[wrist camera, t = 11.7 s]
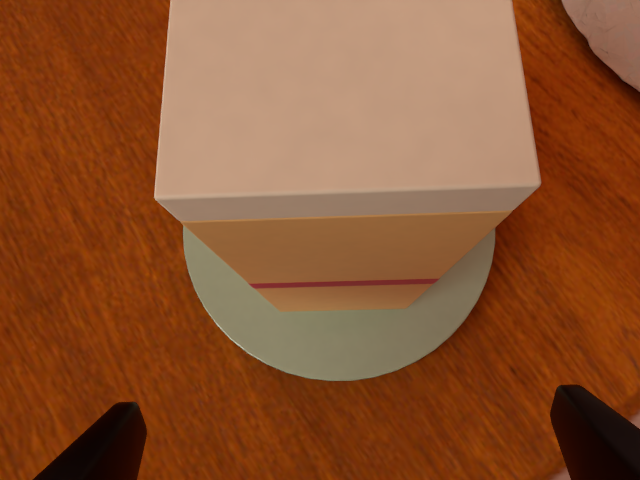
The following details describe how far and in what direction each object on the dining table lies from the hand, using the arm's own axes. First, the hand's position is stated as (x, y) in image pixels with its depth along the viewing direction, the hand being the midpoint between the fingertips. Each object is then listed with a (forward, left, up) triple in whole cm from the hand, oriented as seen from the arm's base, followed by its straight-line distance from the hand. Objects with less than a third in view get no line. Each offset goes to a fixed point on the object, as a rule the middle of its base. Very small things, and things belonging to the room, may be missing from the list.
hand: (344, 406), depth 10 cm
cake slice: (+6, -1, -8) cm, 10 cm away
